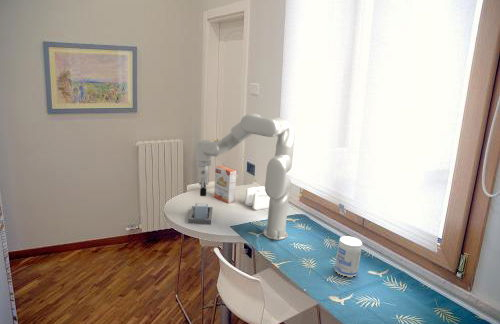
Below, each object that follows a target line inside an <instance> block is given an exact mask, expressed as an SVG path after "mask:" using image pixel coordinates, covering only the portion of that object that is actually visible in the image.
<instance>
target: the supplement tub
mask: <svg viewBox="0 0 500 324" xmlns="http://www.w3.org/2000/svg"><path fill="white" fill-rule="evenodd" d="M362 250H363V242H362V240H360V239H359V238H357V237H353V236H348V235H347V236H341V237H340V238H339V241H338V246H337V252H336V257H335V262H334V263H335V264H334V272H335V273H336V272H337V273H336V274H338V275H339V274H340V275H339V276H341V275H343V276H342V277H344V276H347V277H346V278H354V277H353V276H355V277H357V276H358V273H359V266H360V260H361V255H362V254H361V253H362Z"/></svg>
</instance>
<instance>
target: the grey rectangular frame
mask: <svg viewBox="0 0 500 324" xmlns="http://www.w3.org/2000/svg"><path fill="white" fill-rule="evenodd" d="M193 213H194V214H195V205H191V208H190V210H189V215H188V220H187V224H191V225H212V220H213V219H212V217H213V206H208V217H207V219H198V218H193V217H194V214H193Z"/></svg>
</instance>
